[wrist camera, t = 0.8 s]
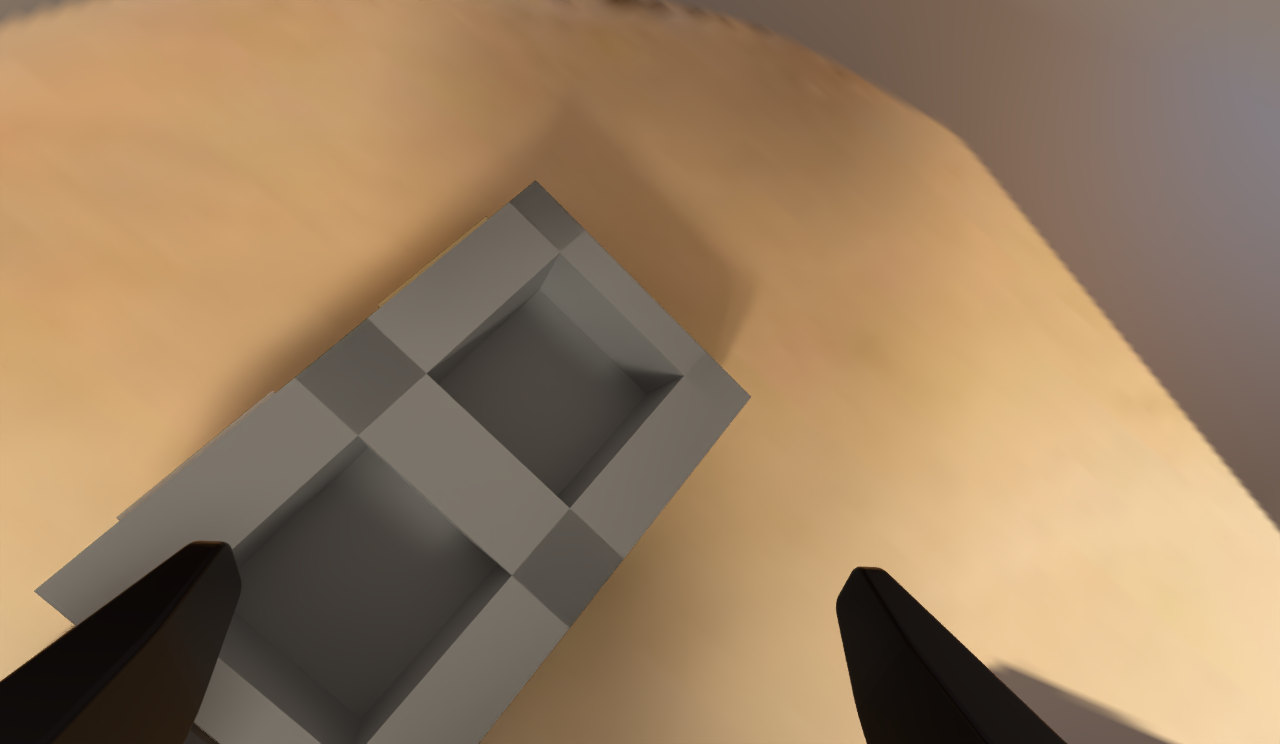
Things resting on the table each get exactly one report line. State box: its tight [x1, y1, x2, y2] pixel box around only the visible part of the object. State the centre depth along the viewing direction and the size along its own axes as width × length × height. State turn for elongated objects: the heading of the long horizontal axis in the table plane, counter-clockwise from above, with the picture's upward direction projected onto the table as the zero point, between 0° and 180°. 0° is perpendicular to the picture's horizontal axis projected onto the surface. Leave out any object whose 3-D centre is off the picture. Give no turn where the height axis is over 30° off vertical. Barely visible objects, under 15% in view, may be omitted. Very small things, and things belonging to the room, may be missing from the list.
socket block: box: [34, 181, 751, 744], centre depth 19 cm, size 16×10×4 cm, turn 136°
